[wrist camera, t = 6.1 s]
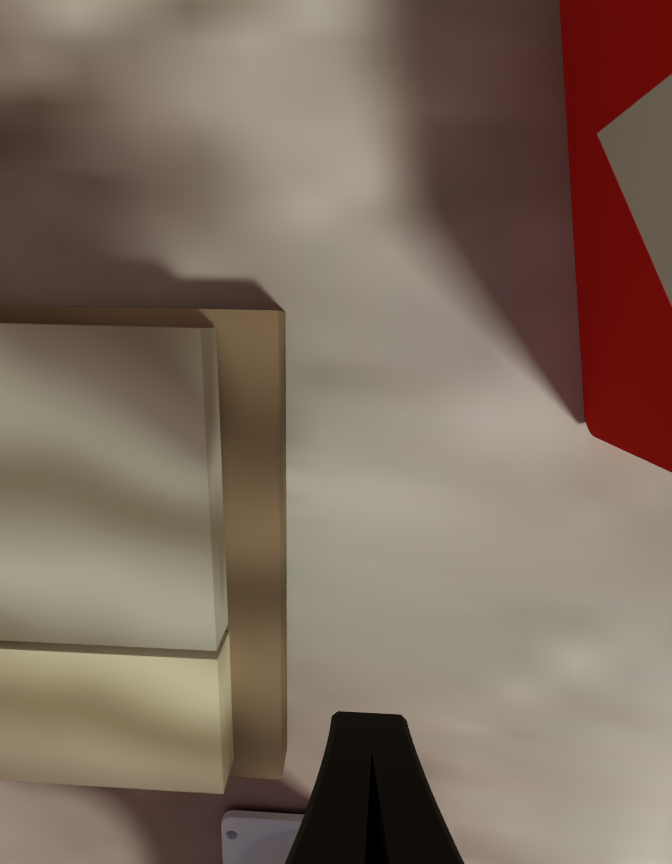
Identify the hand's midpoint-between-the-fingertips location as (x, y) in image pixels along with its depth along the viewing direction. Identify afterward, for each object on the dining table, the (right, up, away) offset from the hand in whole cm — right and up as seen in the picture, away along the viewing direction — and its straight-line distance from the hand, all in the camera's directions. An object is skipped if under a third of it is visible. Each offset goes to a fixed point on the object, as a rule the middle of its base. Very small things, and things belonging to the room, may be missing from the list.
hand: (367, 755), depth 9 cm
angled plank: (-12, +5, +7) cm, 14 cm away
